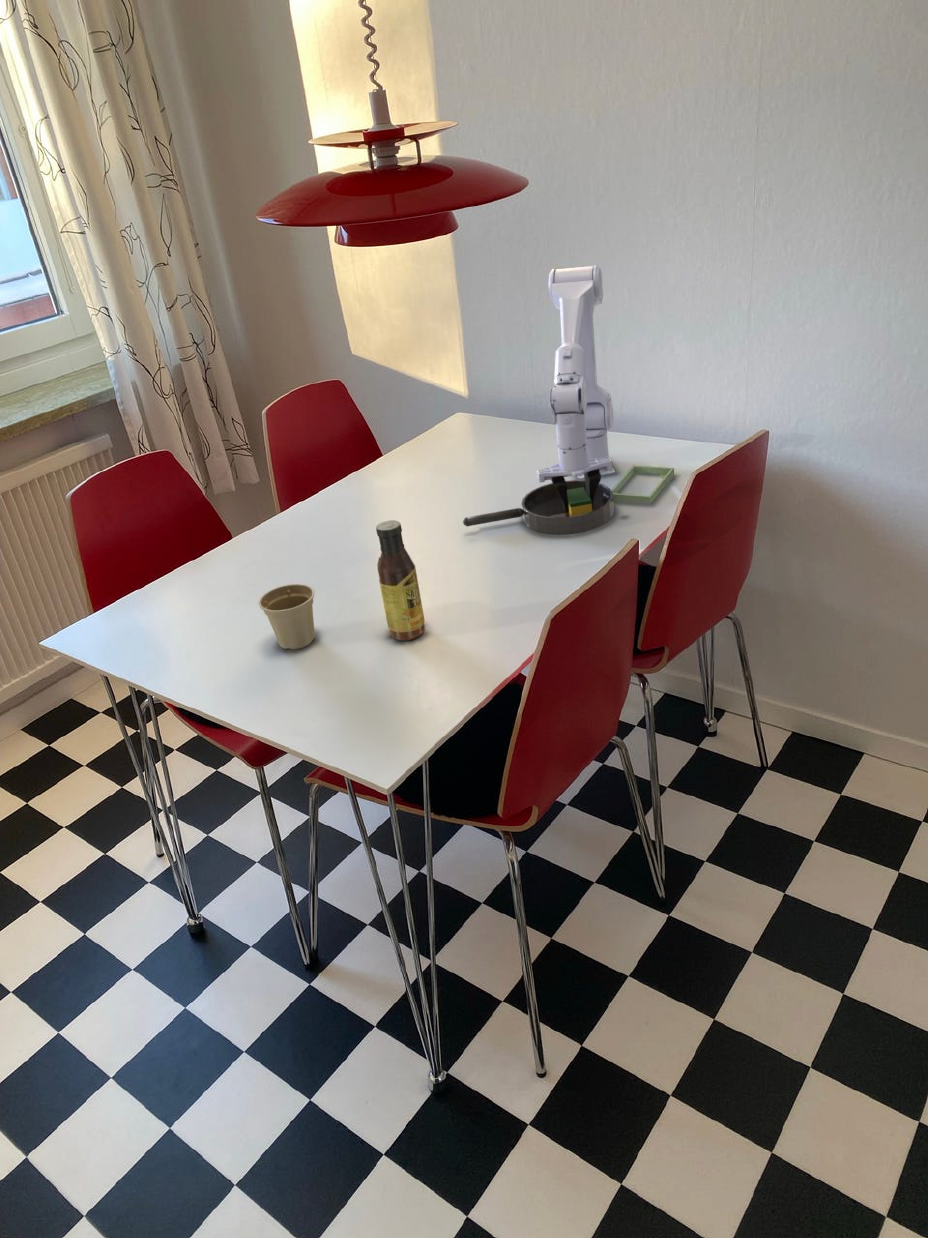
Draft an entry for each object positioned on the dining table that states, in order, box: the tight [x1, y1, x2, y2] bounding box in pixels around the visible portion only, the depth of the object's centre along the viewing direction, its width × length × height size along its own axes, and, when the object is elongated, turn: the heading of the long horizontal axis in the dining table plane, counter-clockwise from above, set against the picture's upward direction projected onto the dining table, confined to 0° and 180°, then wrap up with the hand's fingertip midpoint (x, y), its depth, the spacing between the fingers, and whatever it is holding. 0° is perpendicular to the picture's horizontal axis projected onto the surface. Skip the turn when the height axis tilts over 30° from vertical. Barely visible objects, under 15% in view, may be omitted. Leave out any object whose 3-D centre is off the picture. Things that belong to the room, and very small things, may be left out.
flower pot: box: [258, 583, 316, 650], centre depth 167 cm, size 9×9×9 cm
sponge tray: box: [611, 464, 675, 505], centre depth 203 cm, size 15×9×2 cm, turn 152°
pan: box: [520, 479, 615, 536], centre depth 196 cm, size 18×18×4 cm
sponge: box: [567, 487, 592, 517], centre depth 196 cm, size 7×4×4 cm, turn 7°
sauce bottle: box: [375, 519, 426, 641], centre depth 161 cm, size 6×6×20 cm
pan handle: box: [462, 507, 523, 527], centre depth 195 cm, size 12×2×2 cm, turn 97°
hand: (577, 508), depth 196 cm, fingers closed on sponge, 4 cm apart
